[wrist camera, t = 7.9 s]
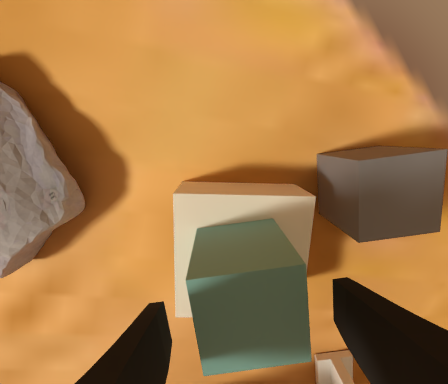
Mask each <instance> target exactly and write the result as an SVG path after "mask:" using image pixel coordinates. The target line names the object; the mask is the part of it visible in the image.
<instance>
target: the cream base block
mask: <svg viewBox="0 0 448 384" xmlns="http://www.w3.org/2000/svg"><path fill="white" fill-rule="evenodd" d="M315 201H316V196H314V195H312V194H311V193H309V192H307V191H306V190H304V189H302V188H300V187H299V186H297V185H295V184H272V183H231V182H191V181H182V183H181V184H180V185H179V187H178V188H177V189H176V190H175V192H174V193H173V211H174V263H175V316H176V317H192V312H191V307H190V301H189V296H188V291H187V286H186V276H187V271H188V267H189V262H190V258H191V253H192V249H193V244H194V240H195V235H196V230H197V228H205V227H212V226H219V225H227V224H234V223H242V222H249V221H256V220H264V219H271V218H273V219H274V220H275V222H276V223H277V224H278V226H279V227H280V229H281V230H282V231H283V233H284V234H285V235H286V237H287V238H288V240H289V241H290V242H291V244H292V245H293V247H294V248H295V249H296V251H297V252H298V254H299V255H300V256H301V258H302V259H303V261H304V262H305V263H306V274H307V266H308V257H309V249H310V241H311V233H312V225H313V217H314V209H315Z"/></svg>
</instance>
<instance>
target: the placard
mask: <svg viewBox="0 0 448 384" xmlns="http://www.w3.org/2000/svg"><path fill="white" fill-rule="evenodd" d="M315 373H316V384H354V382H353V356H352V354H351V352H350V351H349V350H344V351H336V352H329V353H321V354H315Z"/></svg>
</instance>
